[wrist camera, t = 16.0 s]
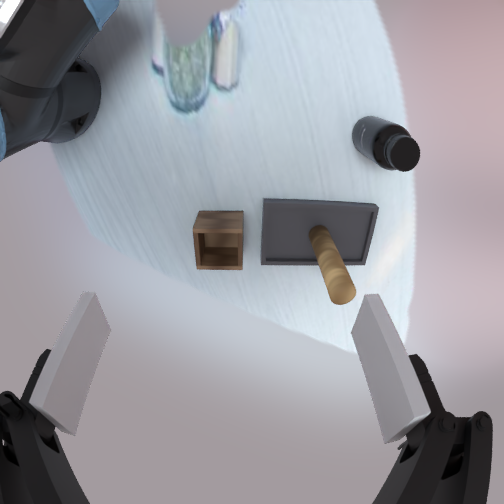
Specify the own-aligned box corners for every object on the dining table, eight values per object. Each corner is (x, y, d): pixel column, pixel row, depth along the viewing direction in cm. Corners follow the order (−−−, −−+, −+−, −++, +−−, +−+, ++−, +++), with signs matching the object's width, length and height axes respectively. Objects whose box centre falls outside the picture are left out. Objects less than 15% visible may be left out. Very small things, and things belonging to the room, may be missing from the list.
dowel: (307, 242, 50) (327, 305, 36) (309, 224, 48) (333, 284, 34) (326, 243, 50) (352, 304, 36) (329, 225, 48) (359, 283, 35)
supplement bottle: (344, 126, 39) (375, 140, 29) (378, 109, 38) (417, 119, 27) (361, 162, 43) (393, 187, 32) (393, 145, 41) (432, 166, 31)
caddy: (202, 248, 51) (196, 269, 46) (199, 210, 47) (192, 228, 42) (242, 248, 51) (242, 269, 46) (243, 210, 47) (242, 229, 42)
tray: (260, 259, 53) (261, 265, 51) (263, 198, 46) (263, 202, 45) (361, 259, 53) (364, 265, 51) (375, 203, 47) (378, 207, 45)
